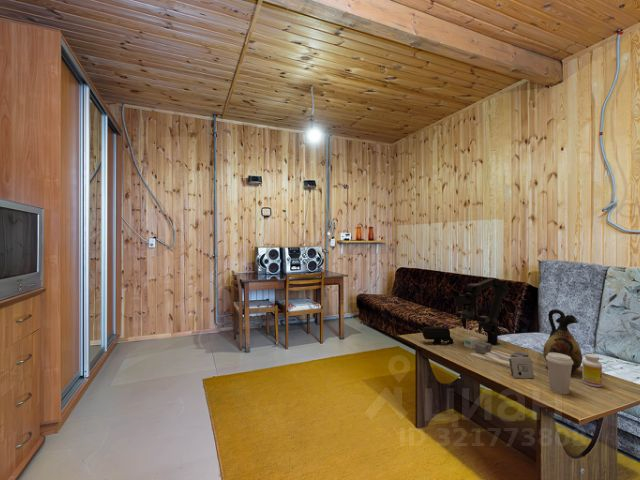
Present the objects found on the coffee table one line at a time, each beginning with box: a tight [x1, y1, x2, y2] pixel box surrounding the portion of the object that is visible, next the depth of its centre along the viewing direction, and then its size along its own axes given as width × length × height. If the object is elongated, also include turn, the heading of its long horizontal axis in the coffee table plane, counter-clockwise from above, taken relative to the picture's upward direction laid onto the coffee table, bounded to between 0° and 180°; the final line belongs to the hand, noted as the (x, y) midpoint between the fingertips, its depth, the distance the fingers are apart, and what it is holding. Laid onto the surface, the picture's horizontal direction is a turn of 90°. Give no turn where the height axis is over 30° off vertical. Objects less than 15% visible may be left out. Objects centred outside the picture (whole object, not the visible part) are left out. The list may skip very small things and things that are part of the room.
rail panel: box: [469, 341, 533, 369], centre depth 169 cm, size 18×24×6 cm
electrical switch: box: [509, 356, 535, 379], centre depth 148 cm, size 9×5×9 cm, turn 90°
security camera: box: [421, 326, 454, 345], centre depth 194 cm, size 7×18×10 cm, turn 89°
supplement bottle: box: [581, 353, 603, 388], centre depth 140 cm, size 7×7×13 cm
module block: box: [463, 336, 480, 350], centre depth 190 cm, size 8×5×5 cm, turn 122°
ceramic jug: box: [542, 308, 583, 375], centre depth 155 cm, size 17×15×30 cm
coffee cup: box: [545, 353, 574, 395], centre depth 133 cm, size 10×10×15 cm
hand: (472, 330), depth 190 cm, fingers open, 9 cm apart
